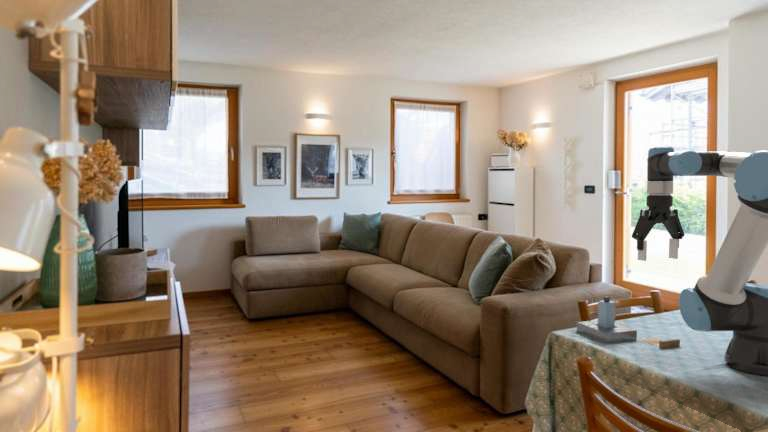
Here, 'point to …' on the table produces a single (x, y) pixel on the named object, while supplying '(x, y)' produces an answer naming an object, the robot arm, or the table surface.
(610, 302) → the grey square bottle
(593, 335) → the panel
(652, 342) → the holster
